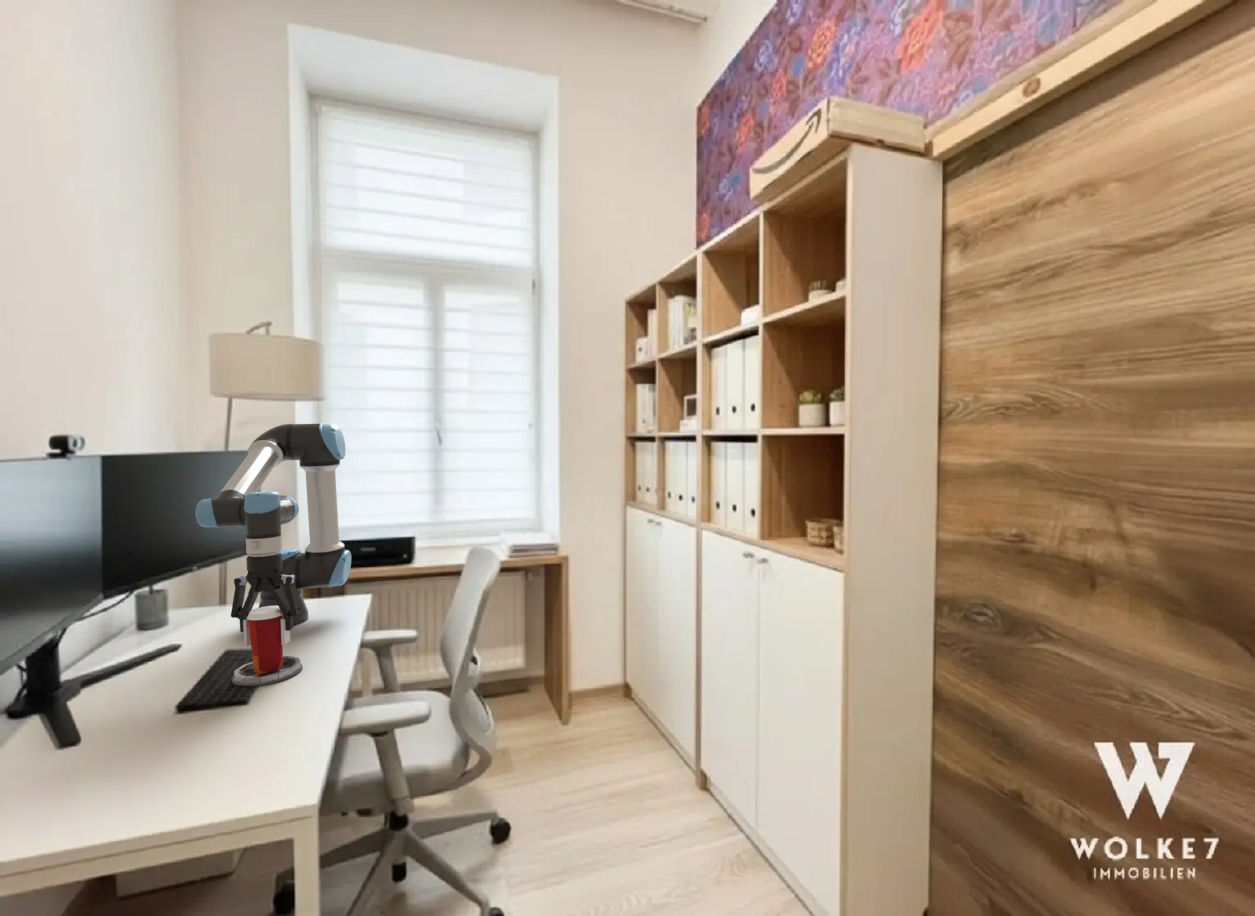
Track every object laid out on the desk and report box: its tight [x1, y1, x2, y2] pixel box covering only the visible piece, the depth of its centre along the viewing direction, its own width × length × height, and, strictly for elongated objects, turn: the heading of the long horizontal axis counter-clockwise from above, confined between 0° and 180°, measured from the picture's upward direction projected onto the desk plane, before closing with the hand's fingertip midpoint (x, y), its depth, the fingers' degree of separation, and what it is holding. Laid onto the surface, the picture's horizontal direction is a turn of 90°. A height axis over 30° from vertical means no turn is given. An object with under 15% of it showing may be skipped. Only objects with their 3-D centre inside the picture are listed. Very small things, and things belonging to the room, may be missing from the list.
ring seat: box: [231, 655, 303, 688], centre depth 145 cm, size 15×15×2 cm
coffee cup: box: [247, 606, 284, 674], centre depth 144 cm, size 8×8×15 cm
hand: (267, 643), depth 145 cm, fingers closed on coffee cup, 8 cm apart
